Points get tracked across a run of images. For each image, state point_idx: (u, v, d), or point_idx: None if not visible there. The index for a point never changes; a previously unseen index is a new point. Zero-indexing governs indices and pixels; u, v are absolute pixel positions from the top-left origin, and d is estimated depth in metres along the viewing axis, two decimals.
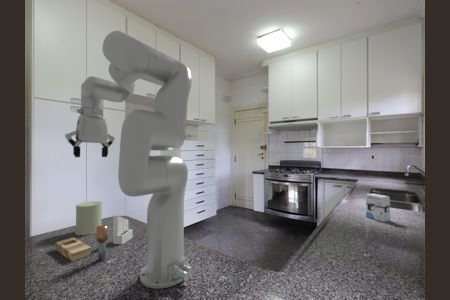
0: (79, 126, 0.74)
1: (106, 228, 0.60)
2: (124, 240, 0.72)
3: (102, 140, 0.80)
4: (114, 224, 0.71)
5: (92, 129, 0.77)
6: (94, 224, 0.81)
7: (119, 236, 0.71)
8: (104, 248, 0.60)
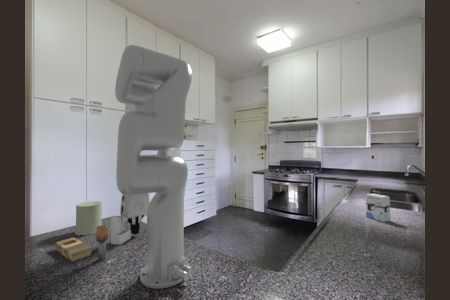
0: (125, 203, 0.73)
1: (106, 228, 0.60)
2: (122, 240, 0.72)
3: (145, 212, 0.79)
4: (112, 224, 0.71)
5: (136, 204, 0.76)
6: (94, 224, 0.81)
7: (117, 236, 0.71)
8: (104, 248, 0.60)
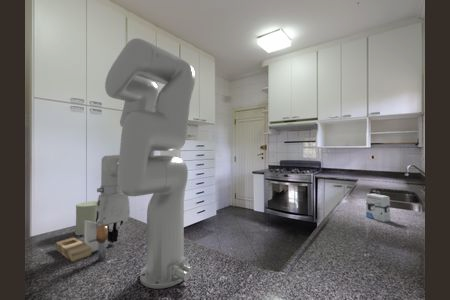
0: (100, 209, 0.66)
1: (106, 228, 0.60)
2: (93, 249, 0.65)
3: (124, 218, 0.72)
4: (85, 229, 0.66)
5: (114, 209, 0.69)
6: None
7: (87, 243, 0.65)
8: (104, 248, 0.60)
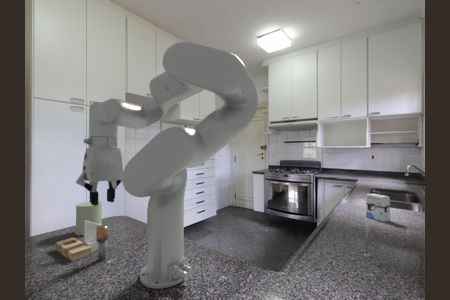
0: (87, 162, 0.56)
1: (106, 228, 0.60)
2: (93, 249, 0.65)
3: (116, 177, 0.62)
4: (85, 230, 0.66)
5: (104, 164, 0.59)
6: None
7: (87, 244, 0.65)
8: (104, 248, 0.60)
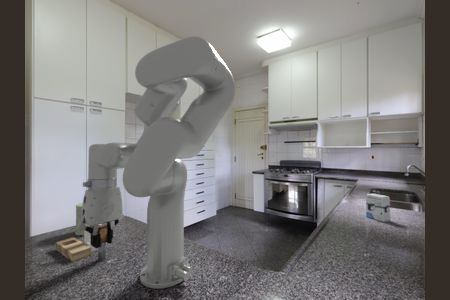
0: (86, 206, 0.56)
1: (106, 228, 0.60)
2: (93, 249, 0.65)
3: (116, 217, 0.61)
4: None
5: (103, 207, 0.58)
6: None
7: (87, 244, 0.65)
8: (104, 248, 0.60)
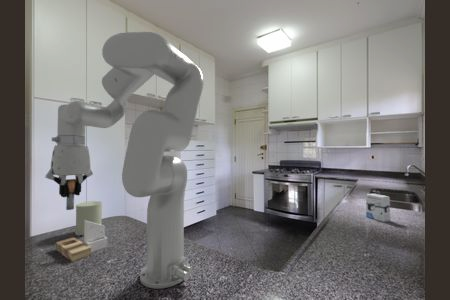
0: (54, 158, 0.63)
1: (74, 181, 0.67)
2: (93, 249, 0.65)
3: (83, 172, 0.68)
4: (84, 230, 0.66)
5: (70, 160, 0.65)
6: None
7: (87, 244, 0.65)
8: (72, 198, 0.67)
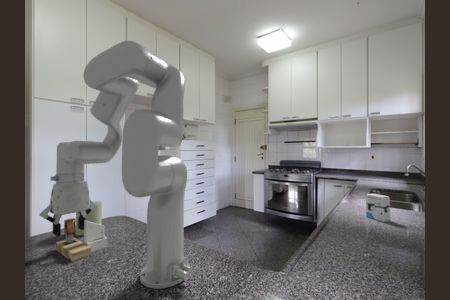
0: (53, 198, 0.62)
1: (73, 221, 0.67)
2: (93, 249, 0.65)
3: (82, 208, 0.68)
4: (84, 230, 0.66)
5: (70, 198, 0.65)
6: None
7: (87, 244, 0.65)
8: (71, 239, 0.67)
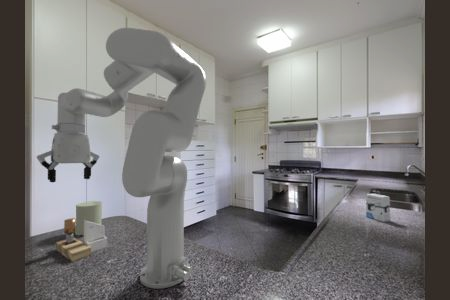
0: (54, 145, 0.63)
1: (73, 221, 0.67)
2: (93, 249, 0.65)
3: (83, 160, 0.68)
4: (84, 230, 0.66)
5: (71, 148, 0.65)
6: None
7: (87, 244, 0.65)
8: (71, 239, 0.67)
